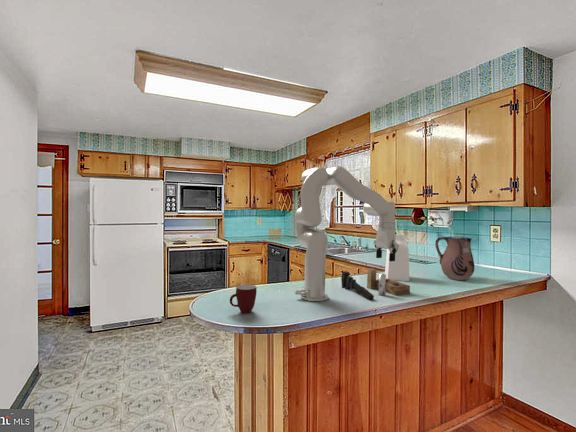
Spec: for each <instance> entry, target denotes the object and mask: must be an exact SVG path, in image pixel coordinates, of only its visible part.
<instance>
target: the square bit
mask: <svg viewBox="0 0 576 432" xmlns="http://www.w3.org/2000/svg"><path fill="white" fill-rule="evenodd" d="M366 273H367V276H366V277H367V278H366V279H367V280H366V288H367V289H369V290H376V289H377V288H376V280H377V269H375V268H367V272H366Z"/></svg>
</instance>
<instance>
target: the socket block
mask: <svg viewBox="0 0 576 432" xmlns="http://www.w3.org/2000/svg"><path fill="white" fill-rule="evenodd" d="M376 289H377V290H379V278H378V279H376ZM410 292H411V285H409V284H406V283H402V282H400V281H398V280H391V279H387V278H386V290H385V293H388V294H390V295H393V296H401V295H402V296H403V295H410Z"/></svg>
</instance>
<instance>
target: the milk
mask: <svg viewBox="0 0 576 432" xmlns="http://www.w3.org/2000/svg"><path fill="white" fill-rule="evenodd" d="M395 236H396V243H397V244H398V245H399V248H398V250H397V252H396V253H395V261H389V254H390V251H389V249H386V256H385V268H384V269H385V270H384V274H386V279H391V280H394V281H397V282H400V281H405V282H409V281H410V252H409V251H410V250H409V246H408V243H407V240H406V239H405V236H404V234H395Z"/></svg>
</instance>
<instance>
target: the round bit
mask: <svg viewBox="0 0 576 432" xmlns="http://www.w3.org/2000/svg"><path fill="white" fill-rule="evenodd" d="M378 279H379V289H378V296H381V297H385V296H386V292H385V290H386V279H387V278H386V274H385V273H379V274H378Z"/></svg>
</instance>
